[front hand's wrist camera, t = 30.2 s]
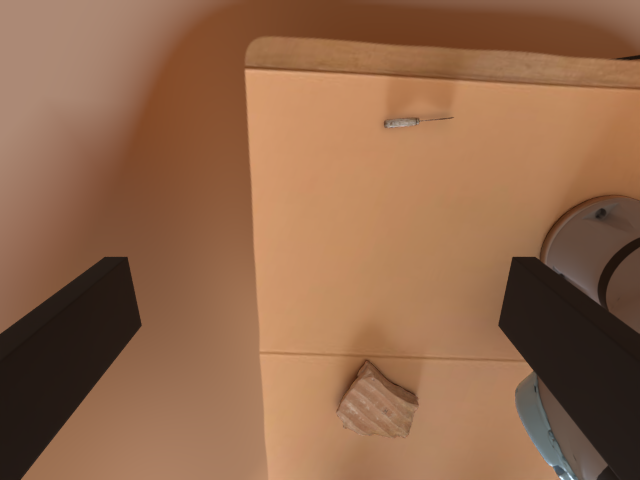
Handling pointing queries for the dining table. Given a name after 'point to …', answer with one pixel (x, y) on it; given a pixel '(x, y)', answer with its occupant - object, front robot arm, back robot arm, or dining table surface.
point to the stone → (377, 406)
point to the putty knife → (404, 122)
